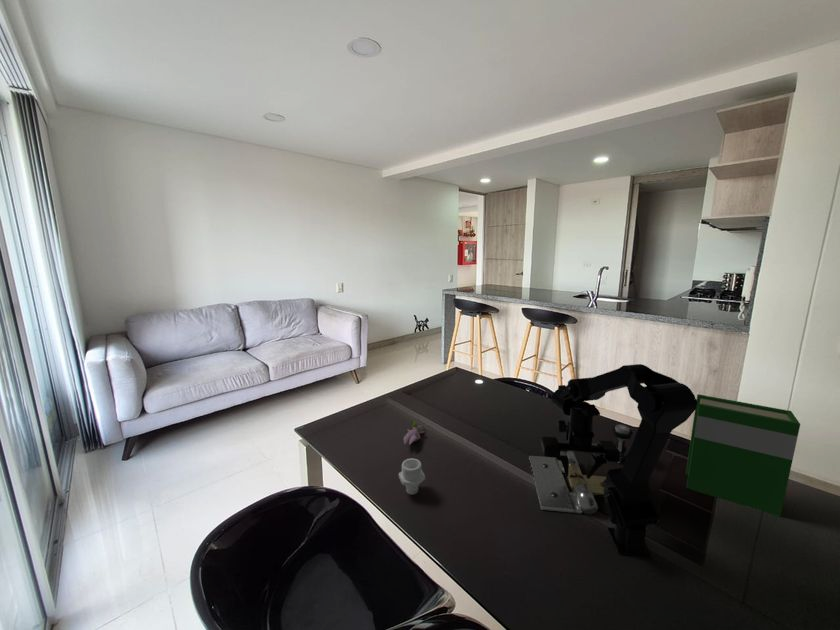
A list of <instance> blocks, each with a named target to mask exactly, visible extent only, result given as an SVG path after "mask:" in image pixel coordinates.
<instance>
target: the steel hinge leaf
mask: <svg viewBox="0 0 840 630" xmlns="http://www.w3.org/2000/svg"><path fill="white" fill-rule="evenodd" d="M567 457H568V459H569V465H572V464H573V465H576V466H578V467H579V469H580V470H581V468H580V466H581V465H580V464H579V462H578V460H577V458H576V455H575V452H567ZM529 460H530V462H529V464H530V463H531V466H530V468H531V467H532V470H531V472H532V471H533V474H532V476H533V475H534V478H533V481H534V480H535V482H534V486H535V491H536V494H537V497H538V502H539V506H540V510H541V511H552V512H561V513H562V512H563V513H573V514H583V513H584V514H586V515H592V514H595V513H596V512H597V511H598V509H599V506H598V503H597V501H596V499H595V497H594V495H593V494H592V492H591V490H590V488H589V486H588V485H586V484H584V483H579V484H577V485H575V486H574V492H573V491H572V492H570V490H569V488H568V486H567V485H568V484H567V482H566V479H565V478H564V474H562V472H563V473H565V472H564V469H563V465H562V462H561V461H560V460H557V459H556V458H555V457H546V456H541V455H540V456H539V455H528V461H529Z"/></svg>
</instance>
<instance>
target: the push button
mask: <svg viewBox="0 0 840 630" xmlns="http://www.w3.org/2000/svg"><path fill="white" fill-rule="evenodd" d="M611 431H612V434H613V436H614V437H616V439H617V441H616V444H615V443H614V444H615V445H616V446H617V448H618V449H619V451H620V453H621V461H620V462H616V463H618V464H620V463H622V461H623V460H625V457H627V455H626V452H627V447H626V440H630V439H632V436H633V435H634V433H633V431H632V430H631V429H630V428H629V427H628V426H627V425H625V424H616V425H615V426H612V428H611Z"/></svg>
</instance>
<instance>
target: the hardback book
mask: <svg viewBox="0 0 840 630" xmlns="http://www.w3.org/2000/svg"><path fill="white" fill-rule="evenodd" d="M696 400H697V407H696V409H695V411H694V413H693V414H694V415H693V421H692V428H691V434H690V442H689V448H688V455H687V456H688V457H687V462H686V468H685V476H687V481H686V489H688V488H689V489H688V490H692V491H695V492H698V493H701V494H704V495H707V494H708V495H707V496H711V497H714V498H718V499H720V498H721V500H724V499H725V500H724V501H727V500H728V501H727V502H730V501H731V503H733V502H734V503H733V504H737V505H740V504H741V506H743V505H744V507H746V506H749V507H748V508H750V507H752V508H751V509H753V508H755V509H754V510H756V509H759V510H758V511H760V510H761V511H760V512H763V511H765V512H764V513H766V512H768V513H767V514H769V513H771V514H770V515H773V514H774V515H773V516H776V515H778V516H777V517H779V516H780V517H781V515H782V510H783V506H784V501H785V496H786V493H787V492H786V491H787V489H788V483H789V478H790V474H791V470H792V464H793V460H794V456H795V455H794V454H795V451H796V446H797V441H798V437H799V432H800V427H801V422H799V420H798V419H797V417H796V416H795V414H794V413H793V411H792V410H788V409H781V408H776V407H771V406H767V405H766V406H764V405H761V404H753V403H748V402H743V401H738V400H733V399H728V398H727V399H726V398H721V397H717V396H716V397H715V396H709V395H704V394H698V393H697V394H696Z"/></svg>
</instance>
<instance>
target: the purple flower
mask: <svg viewBox="0 0 840 630" xmlns="http://www.w3.org/2000/svg"><path fill="white" fill-rule="evenodd" d="M423 430H424V423H423V424H422V425H418V424H417V422H416V421H414V422H413V424H412V429H408V428H407V433H406V434H405V435H404V437H403V444H404V445H406V444H407V443H408V442H409V443H408V445H411V444H412V443H414V442H417V441H419V439H420V440H421V435H420V434H424V433H425V430H424V431H423Z"/></svg>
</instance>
